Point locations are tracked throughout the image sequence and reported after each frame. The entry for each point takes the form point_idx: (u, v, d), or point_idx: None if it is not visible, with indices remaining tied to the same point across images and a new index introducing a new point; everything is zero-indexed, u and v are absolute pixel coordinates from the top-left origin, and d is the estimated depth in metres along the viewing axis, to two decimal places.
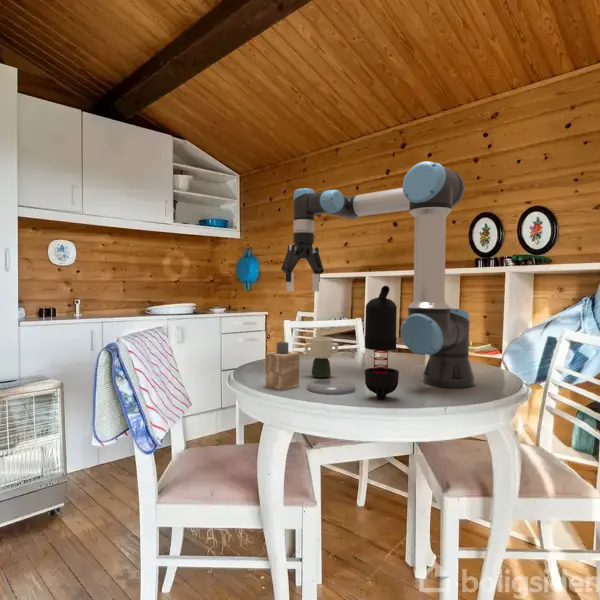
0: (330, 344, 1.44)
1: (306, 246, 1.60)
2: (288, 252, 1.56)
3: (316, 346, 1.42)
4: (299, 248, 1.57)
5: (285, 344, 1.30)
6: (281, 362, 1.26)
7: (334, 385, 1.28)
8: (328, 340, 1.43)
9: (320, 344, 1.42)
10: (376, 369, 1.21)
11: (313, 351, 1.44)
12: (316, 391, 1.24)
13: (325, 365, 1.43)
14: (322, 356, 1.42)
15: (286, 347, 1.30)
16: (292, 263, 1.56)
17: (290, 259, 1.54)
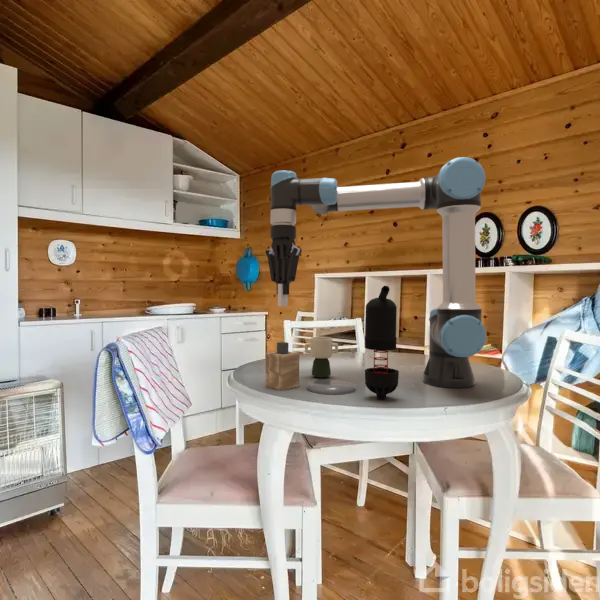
0: (330, 344, 1.44)
1: (281, 242, 1.29)
2: None
3: (316, 346, 1.42)
4: (273, 246, 1.32)
5: (285, 344, 1.30)
6: (281, 362, 1.26)
7: (334, 385, 1.28)
8: (328, 340, 1.43)
9: (320, 344, 1.42)
10: (376, 369, 1.21)
11: (313, 351, 1.44)
12: (316, 391, 1.24)
13: (325, 365, 1.43)
14: (322, 356, 1.42)
15: (286, 347, 1.30)
16: None
17: (270, 267, 1.32)
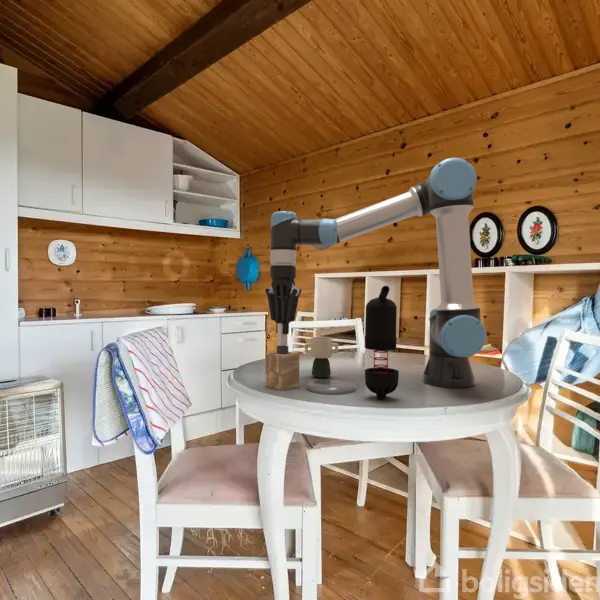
0: (330, 344, 1.44)
1: (281, 282, 1.29)
2: None
3: (316, 346, 1.42)
4: (272, 285, 1.32)
5: (285, 347, 1.30)
6: (281, 362, 1.26)
7: (334, 385, 1.28)
8: (328, 340, 1.43)
9: (320, 344, 1.42)
10: (376, 369, 1.21)
11: (313, 351, 1.44)
12: (316, 391, 1.24)
13: (325, 365, 1.43)
14: (322, 356, 1.42)
15: (286, 350, 1.30)
16: None
17: (270, 306, 1.32)
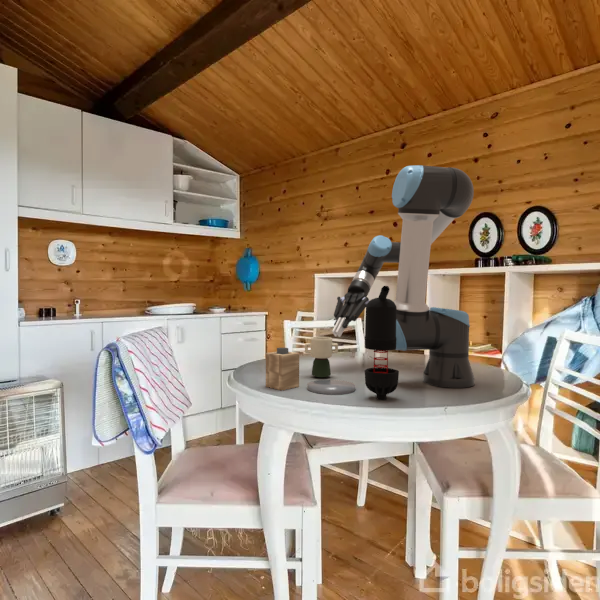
0: (330, 344, 1.44)
1: (355, 293, 1.62)
2: None
3: (316, 346, 1.42)
4: (346, 295, 1.63)
5: (285, 349, 1.30)
6: (281, 362, 1.26)
7: (334, 385, 1.28)
8: (328, 340, 1.43)
9: (320, 344, 1.42)
10: (376, 369, 1.21)
11: (313, 351, 1.44)
12: (316, 391, 1.24)
13: (325, 365, 1.43)
14: (322, 356, 1.42)
15: (286, 352, 1.30)
16: None
17: (337, 307, 1.60)
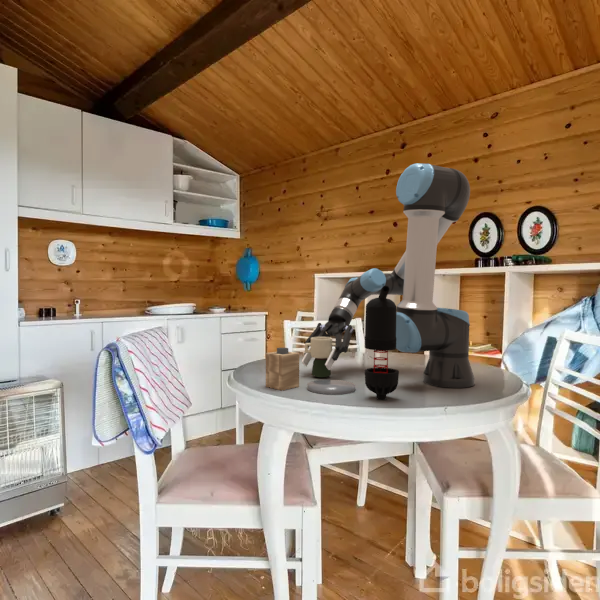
0: (330, 344, 1.44)
1: (336, 322, 1.52)
2: None
3: (316, 346, 1.42)
4: (326, 324, 1.54)
5: (285, 349, 1.30)
6: (281, 362, 1.26)
7: (334, 385, 1.28)
8: (328, 340, 1.43)
9: (320, 344, 1.42)
10: (376, 369, 1.21)
11: (313, 351, 1.44)
12: (316, 391, 1.24)
13: None
14: (322, 356, 1.42)
15: (286, 352, 1.30)
16: None
17: (312, 334, 1.53)
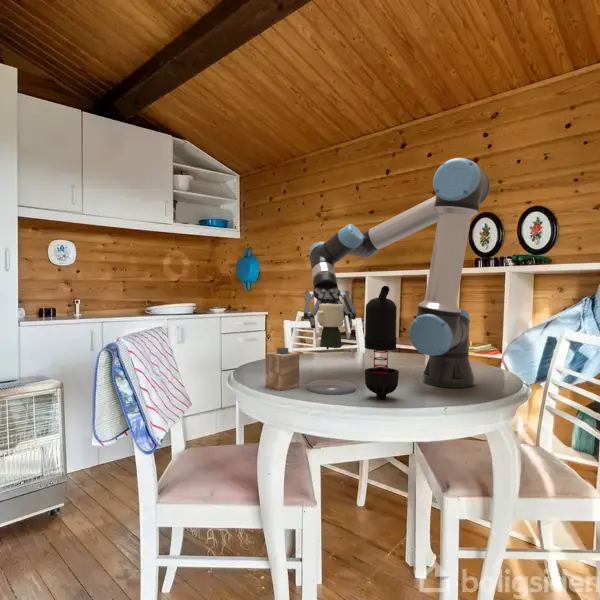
0: None
1: (327, 288, 1.37)
2: None
3: (335, 313, 1.26)
4: (316, 291, 1.36)
5: (285, 349, 1.30)
6: (281, 362, 1.26)
7: (334, 385, 1.28)
8: None
9: (339, 311, 1.26)
10: (376, 369, 1.21)
11: (329, 319, 1.26)
12: (316, 391, 1.24)
13: (339, 334, 1.28)
14: (340, 323, 1.27)
15: (286, 352, 1.30)
16: None
17: (307, 303, 1.32)
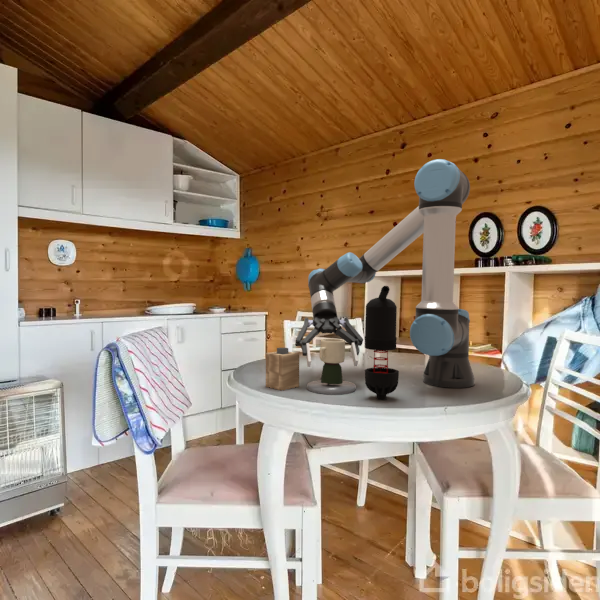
0: None
1: (327, 318, 1.37)
2: None
3: (337, 350, 1.25)
4: (316, 320, 1.36)
5: (285, 349, 1.30)
6: (281, 362, 1.26)
7: (334, 385, 1.28)
8: None
9: (341, 347, 1.26)
10: (376, 369, 1.21)
11: (332, 356, 1.25)
12: (316, 391, 1.24)
13: (341, 370, 1.28)
14: (342, 360, 1.26)
15: (286, 352, 1.30)
16: None
17: (302, 331, 1.32)
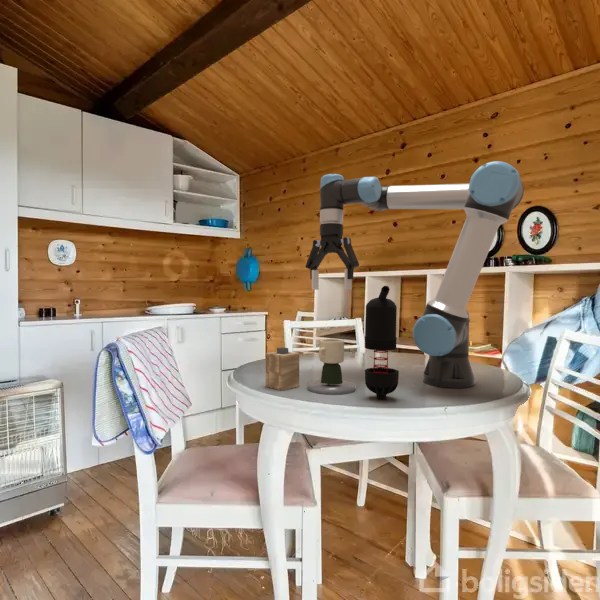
0: None
1: (330, 239, 1.42)
2: None
3: (336, 350, 1.25)
4: (321, 242, 1.45)
5: (285, 349, 1.30)
6: (281, 362, 1.26)
7: (334, 385, 1.28)
8: None
9: (340, 347, 1.26)
10: (376, 369, 1.21)
11: (331, 356, 1.25)
12: (316, 391, 1.24)
13: (340, 370, 1.28)
14: (341, 360, 1.26)
15: (286, 352, 1.30)
16: None
17: (310, 256, 1.48)
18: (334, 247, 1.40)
